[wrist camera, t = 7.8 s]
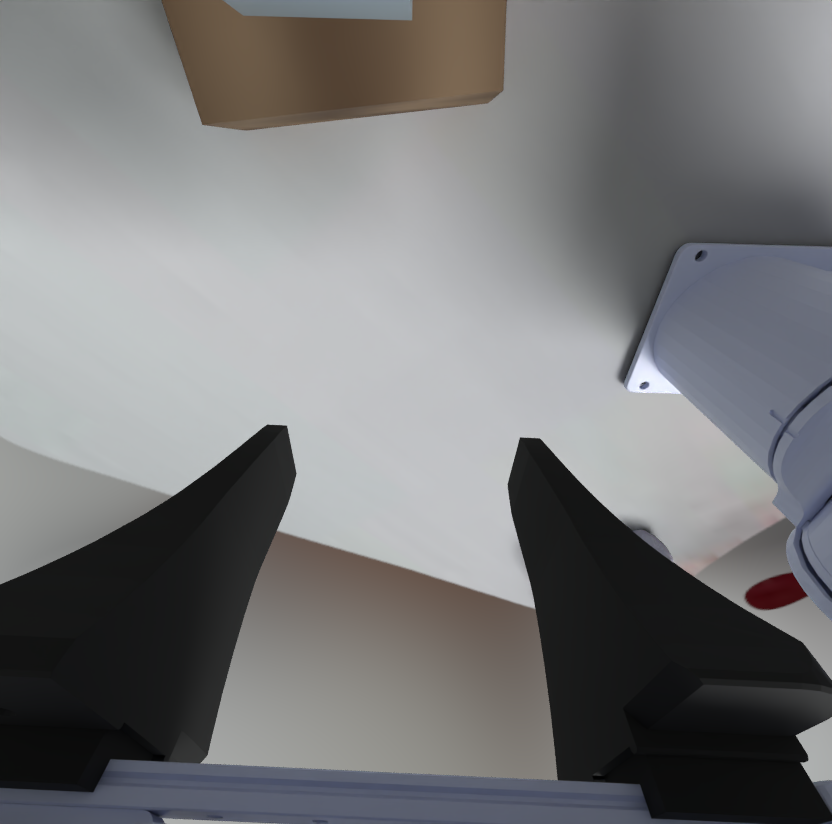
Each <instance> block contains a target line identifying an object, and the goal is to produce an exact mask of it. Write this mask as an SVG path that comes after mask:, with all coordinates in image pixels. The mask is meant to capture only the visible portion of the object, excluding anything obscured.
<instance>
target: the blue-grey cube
mask: <svg viewBox="0 0 832 824" xmlns="http://www.w3.org/2000/svg"><path fill="white" fill-rule="evenodd" d="M223 1H224V2H226V3H227V4H228V5H230V6H231V7H232V8H234V9H235V10H236V11H238V12H239V13H240V14H242V15H243V16H273V17H309V18H344V19H380V20H412V0H223Z"/></svg>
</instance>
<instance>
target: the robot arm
mask: <svg viewBox="0 0 832 824" xmlns="http://www.w3.org/2000/svg"><path fill="white" fill-rule="evenodd" d="M701 250H702V255H701V256H700V258H698V259H697V260H695V256H696V254H697V253H698V252H700V251H701ZM643 382H646V383H645V384H644V385H642V386H640V384H641V383H643ZM624 387H625V388H626V389H627V390H628V391H629V392H639V393H672V394H683V395H684V396H685V397H686V398H687V399H688V400H689V401H690V402H691V403H692V404H693V405H694V406H695V407H696V408H697V409H699V410H700V411H701V412H702V413H703V414H704V415H705V416H706V417H707V418H708V419H709V420H710V421H711V422H712V423H713V424H714V425H716V426H717V427H718V428H719V429H720V430H721V431H722V432H723V433H724V434H725V435H726V436H727V437H728V438H729V439H730V440H731V441H733V442H734V443H735V444H736V445H737V446H738V447H739V448H740V449H741V450H742V451H743V452H744V453H745V454H746V455H747V456H748V457H750V458H751V459H752V460H753V461H754V462H755V463H756V464H757V465H758V466H759V467H760V468H761V469H762V470H763V471H764V472H765V473H767V474H768V475H769V476H770V477H771V478H772V479H773V480H774V481H775V482H776V483H777V484H778V493H777V495H776V497H775V498H774V500H773V502H772V503H773V504H774V505H775V506H776V507H777V508H778V509H779V510H780V511H781V512H782V513H783V514H784V515H785V516H786V517H787V518H788V519H789V520H790V521H791V522H792V523H793V524H794V525H795V526H796V528H795V529H794V530H793V531H792V532H791V534H790V536H789V538H788V540H787V547H786V553H787V558H788V562H789V565H790V567H791V569H792V572H793V574H794V576H795V578H796V579H797V581H798V582H799V584H800V585H801V587H802V588H803V590H804V591H805V592H806V594H807V595H808V596H809V597H810V598H811V600H812V601H813V602H814V603H815V604H816V605H817V607H818V608H819V609H820V610H821V611H822V612H823V613H824V614H825V615H826V616H827V617H828V618H829V619H830V620H831V621H832V247H830V246H794V245H757V244H721V243H686V244H684V245H683V246H681V247H680V248H679V249H678V251H677V252H676V254H675V256H674V259H673V261H672V264H671V266H670V269H669V271H668V274H667V276H666V279H665V281H664V284H663V286H662V289H661V291H660V294H659V296H658V299H657V301H656V304H655V306H654V309H653V311H652V314H651V316H650V319H649V321H648V324H647V326H646V329H645V331H644V334H643V336H642V339H641V341H640V344H639V346H638V349H637V351H636V354H635V356H634V359H633V361H632V364H631V366H630V369H629V371H628V374H627V376H626V379H625V381H624ZM295 477H296V469H295V464H294V459H293V454H292V449H291V444H290V439H289V434H288V429H287V426H283V425H266V426H265V427H264V428H262V429H261V430H260V431H258V432H257V433H256V434H255V435H253V436H252V437H251V438H250V439H249V440H247V441H246V442H245V443H244V444H242V445H241V446H240V447H239V448H238V449H236V450H235V451H234V452H233V453H231V454H230V455H229V456H227V457H226V458H225V459H224V460H222V461H221V462H220V463H219V464H217V465H216V466H215V467H213V468H212V469H211V470H209V471H208V472H207V473H205V474H204V475H202V476H201V477H200V478H198V479H197V480H196V481H194V482H193V483H191V484H190V485H189V486H187V487H186V488H185V489H183V490H182V491H180V492H179V493H177V494H176V495H174V496H173V497H171V498H170V499H168V500H167V501H165V502H163V503H162V504H160V505H159V506H157V507H155V508H154V509H152V510H150V511H149V512H147V513H146V514H144V515H142V516H140V517H139V518H137V519H135V520H134V521H132V522H130V523H128V524H126V525H124V526H122V527H121V528H119V529H117V530H115V531H113V532H112V533H110V534H108V535H106V536H104V537H102V538H100V539H98V540H97V541H95V542H93V543H91V544H89V545H87V546H85V547H83V548H81V549H79V550H76V551H75V552H73V553H70V554H68V555H66V556H64V557H62V558H60V559H58V560H56V561H53V562H51V563H49V564H47V565H45V566H43V567H40V568H38V569H36V570H33V571H31V572H29V573H27V574H24V575H22V576H20V577H17V578H15V579H12V580H10V581H8V582H5V583H3V584H0V824H165V823H164V821H163V819H162V818H173V819H193V820H194V819H195V820H214V821H237V822H258V823H279V824H832V780H829V781H828V780H827V781H818V782H813V783H812V781H811V780H810V778H809V776H808V775H807V773H806V771H805V770H804V768H803V766H802V765H801V763H800V762H806V761H808V755H807V753H806V751H805V750H804V749H803V747H802V745H801V744H800V742H799V740H798V739H797V737H796V736H795V735H797V734H799V733H801V732H803V731H805V730H807V729H809V728H811V727H813V726H815V725H817V724H819V723H821V722H823V721H825V720H827V719H829V718H830V717H832V680H831V679H830V678H829V676H828V675H827V674H826V672H825V671H824V670H823V669H822V667H821V666H820V664H819V663H818V662H817V661H816V659H815V658H814V657H813V655H812V654H811V653H810V651H809V650H808V649H807V648H806V646H805V645H804V644H803V643H802V642H801V641H798V640H797V639H795V638H794V637H792V636H790V635H788V634H787V633H785V632H783V631H782V630H780V629H778V628H776V627H775V626H773V625H771V624H769V623H768V622H766V621H764V620H762V619H761V618H758V617H757V616H755V615H753V614H752V613H750V612H748V611H747V610H745V609H743V608H742V607H740V606H738V605H737V604H735V603H733V602H732V601H730V600H728V599H727V598H726V597H724V596H722V595H721V594H719V593H718V592H716V591H714V590H713V589H711V588H710V587H708V586H707V585H705V584H704V583H702V582H701V581H699V580H698V579H696V578H695V577H693V576H692V575H690V574H689V573H687V572H686V571H685V570H683V569H682V568H680V567H679V566H678V565H676V564H675V563H673V562H672V561H671V560H669V559H668V558H666V557H665V556H664V555H662V554H661V553H660V552H658V551H657V550H656V549H654V548H653V547H652V546H650V545H649V544H648V543H647V542H645V541H644V540H643V539H642V538H640V537H639V536H638V535H637V534H636V533H634V532H633V531H632V530H631V529H629V528H628V527H627V526H626V525H625V524H623V523H622V522H621V521H620V520H619V519H618V518H617V517H615V516H614V515H613V514H612V513H611V512H610V511H609V510H608V509H607V508H606V507H605V506H604V505H603V504H601V503H600V502H599V501H598V500H597V499H596V498H595V497H594V496H593V495H592V494H591V493H590V492H589V491H588V490H587V489H586V488H585V487H584V486H583V485H582V484H581V483H580V482H579V481H578V480H577V479H576V478H575V476H574V475H573V474H572V473H571V472H570V471H569V470H568V469H567V468H566V467H565V466H564V465H563V463H562V462H561V461H560V460H559V459H558V458H557V457H556V456H555V455H554V453H553V452H552V451H551V450H550V449H549V448H548V447H547V446H546V445H545V443H544V442H543V441H542V440H541V439H539V438H520V440H519V444H518V447H517V451H516V455H515V459H514V462H513V466H512V470H511V474H510V478H509V481H508V491H509V499H510V506H511V513H512V517H513V521H514V525H515V528H516V532H517V536H518V540H519V543H520V547H521V551H522V554H523V558H524V561H525V565H526V569H527V572H528V576H529V580H530V584H531V588H532V592H533V597H534V602H535V608H536V614H537V620H538V626H539V632H540V638H541V645H542V652H543V658H544V664H545V672H546V679H547V687H548V695H549V703H550V710H551V719H552V728H553V737H554V746H555V756H556V765H557V766H556V767H557V777H558V780H538V779H517V778H496V777H475V776H454V775H432V774H412V773H390V772H369V771H348V770H326V769H306V768H284V767H264V766H242V765H221V764H200V763H201V762H202V761H203V760H204V758H205V757H206V756H207V755H208V750H209V746H210V741H211V738H212V734H213V729H214V725H215V721H216V717H217V713H218V709H219V705H220V701H221V696H222V693H223V689H224V685H225V682H226V678H227V674H228V671H229V667H230V663H231V659H232V656H233V652H234V649H235V645H236V642H237V638H238V635H239V632H240V628H241V625H242V621H243V618H244V614H245V612H246V609H247V605H248V602H249V599H250V596H251V593H252V590H253V586H254V583H255V581H256V578H257V576H258V573H259V570H260V568H261V566H262V563H263V561H264V559H265V556H266V554H267V552H268V549H269V547H270V545H271V542H272V540H273V538H274V535H275V533H276V531H277V529H278V526H279V524H280V522H281V519H282V517H283V515H284V512H285V510H286V507H287V505H288V502H289V499H290V496H291V492H292V489H293V485H294V481H295Z"/></svg>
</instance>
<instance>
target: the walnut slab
mask: <svg viewBox="0 0 832 824" xmlns="http://www.w3.org/2000/svg"><path fill="white" fill-rule="evenodd" d="M506 2H507V0H412V20H380V19H344V18H309V17H273V16H243V15H242V14H240V13H239V12H238V11H236V10H235V9H234V8H232V7H231V6H230V5H228V4H227V3H226V2H224V1H223V0H162V3H163V6H164V9H165V12H166V15H167V19H168V22H169V25H170V28H171V31H172V34H173V37H174V40H175V43H176V46H177V49H178V52H179V55H180V58H181V61H182V64H183V67H184V70H185V73H186V76H187V79H188V82H189V85H190V88H191V91H192V94H193V98H194V101H195V104H196V107H197V110H198V113H199V116H200V119H201V122H202V125H208V126H216V127H223V128H231V129H239V130H254V129H263V128H272V127H281V126H290V125H299V124H307V123H316V122H325V121H334V120H343V119H352V118H361V117H370V116H379V115H387V114H396V113H405V112H414V111H423V110H432V109H441V108H450V107H459V106H467V105H476V104H485V103H489V102H490V101H491V100H492V99H493V98H495V97H496V96H497V95H498V94H499V93H501V92H502V91H503V82H504V55H505V29H506Z"/></svg>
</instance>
